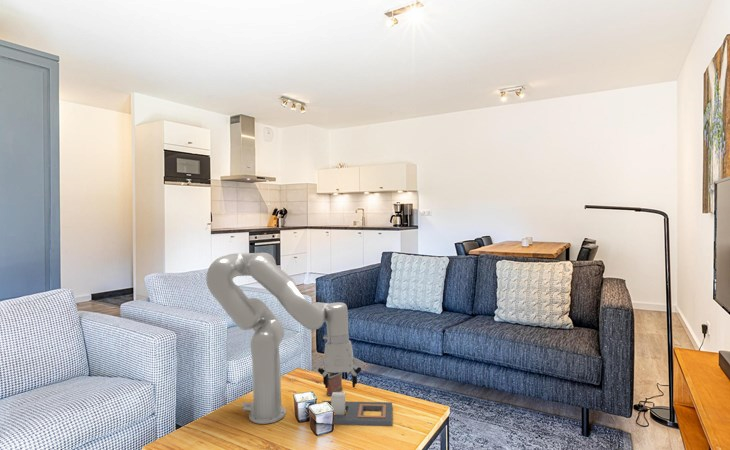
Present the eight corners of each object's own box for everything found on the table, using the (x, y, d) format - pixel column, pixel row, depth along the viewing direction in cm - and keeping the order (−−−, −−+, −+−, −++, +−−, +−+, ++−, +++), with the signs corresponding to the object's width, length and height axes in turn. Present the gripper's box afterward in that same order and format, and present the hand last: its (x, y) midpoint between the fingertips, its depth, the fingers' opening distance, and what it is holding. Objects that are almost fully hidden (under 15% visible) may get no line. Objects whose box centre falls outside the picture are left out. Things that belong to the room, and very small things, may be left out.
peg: (331, 417, 145) (330, 397, 145) (333, 411, 150) (332, 392, 149) (343, 417, 145) (343, 398, 145) (345, 411, 149) (345, 392, 149)
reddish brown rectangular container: (337, 387, 170) (337, 363, 169) (344, 389, 168) (343, 365, 167) (324, 395, 163) (324, 369, 163) (331, 397, 161) (330, 371, 161)
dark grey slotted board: (315, 424, 141) (315, 419, 141) (322, 404, 155) (322, 400, 155) (392, 425, 139) (392, 420, 139) (392, 406, 153) (392, 401, 153)
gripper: (311, 342, 143) (314, 391, 144) (361, 341, 142) (364, 390, 143) (315, 335, 151) (318, 382, 151) (363, 334, 150) (365, 381, 150)
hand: (340, 386), depth 147 cm, fingers open, 9 cm apart
